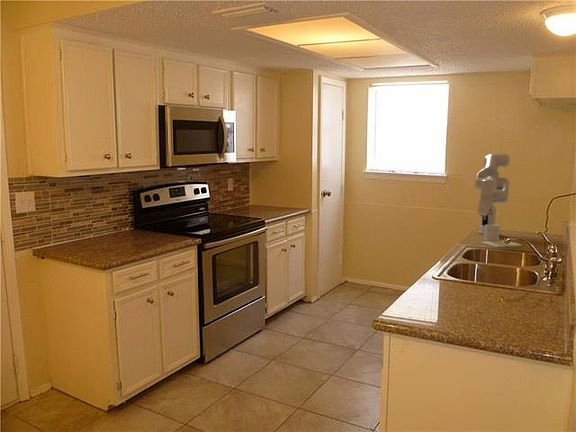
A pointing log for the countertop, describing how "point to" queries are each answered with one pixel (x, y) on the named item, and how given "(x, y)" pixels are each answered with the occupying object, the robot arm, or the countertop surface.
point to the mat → (500, 244)
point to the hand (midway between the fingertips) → (484, 225)
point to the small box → (491, 233)
